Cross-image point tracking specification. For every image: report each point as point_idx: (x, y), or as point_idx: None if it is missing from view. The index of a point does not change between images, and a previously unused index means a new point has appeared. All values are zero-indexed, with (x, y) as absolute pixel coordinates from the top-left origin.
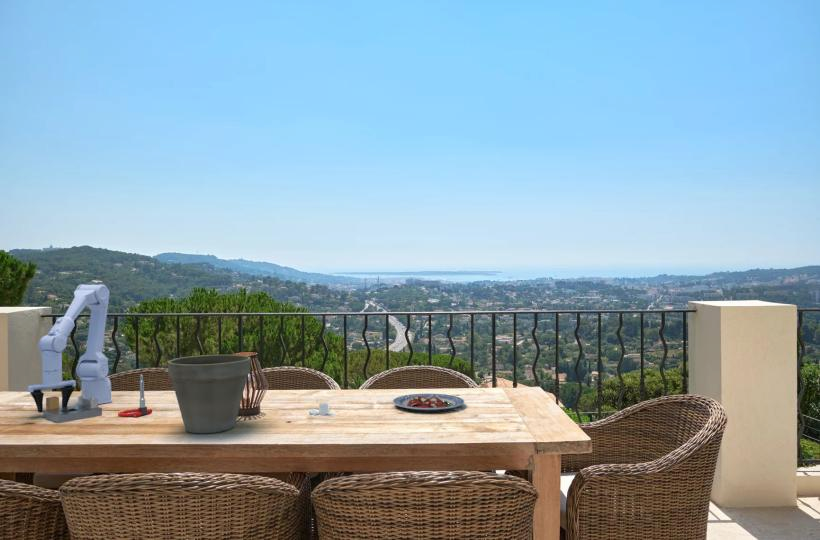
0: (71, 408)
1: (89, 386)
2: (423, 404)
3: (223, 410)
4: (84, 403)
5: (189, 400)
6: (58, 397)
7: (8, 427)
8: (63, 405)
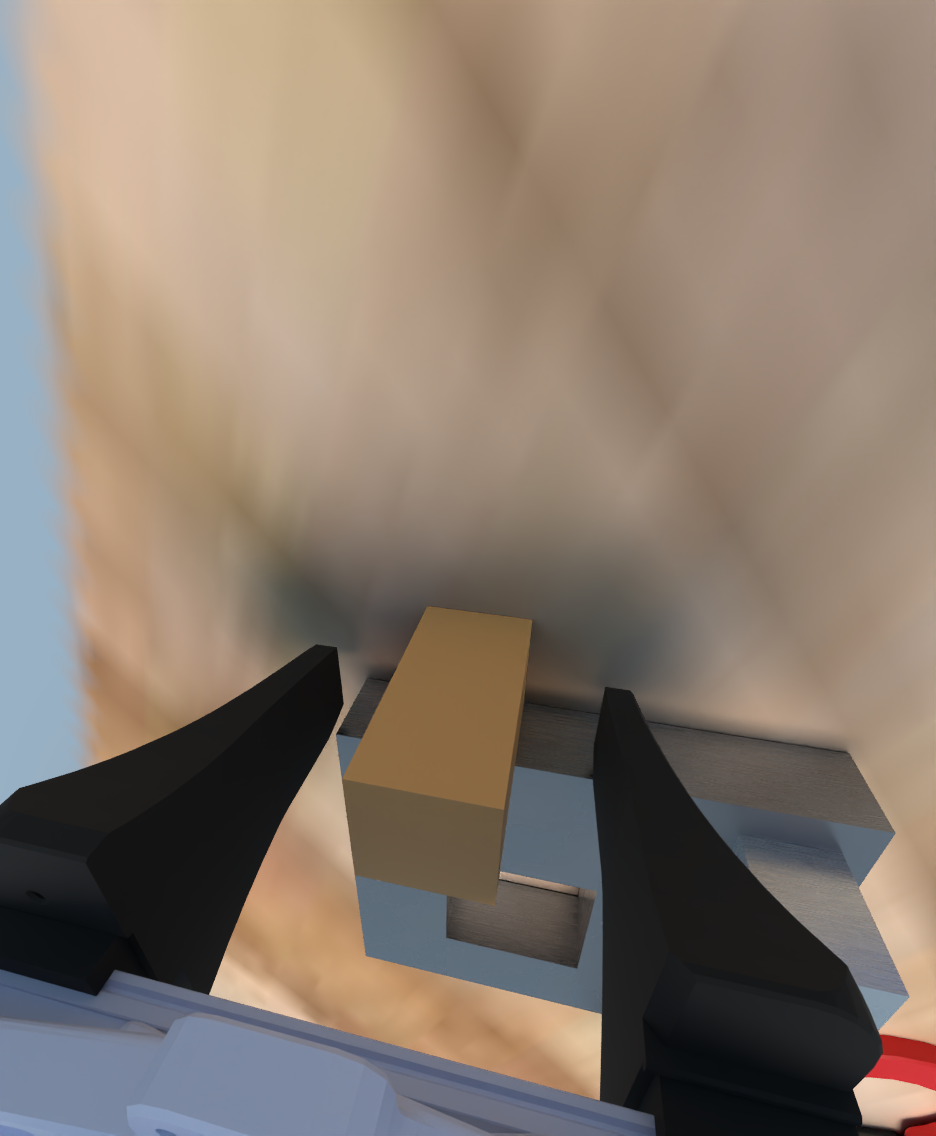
0: (580, 880)
1: None
2: None
3: None
4: None
5: None
6: (489, 901)
7: (96, 738)
8: (601, 746)
